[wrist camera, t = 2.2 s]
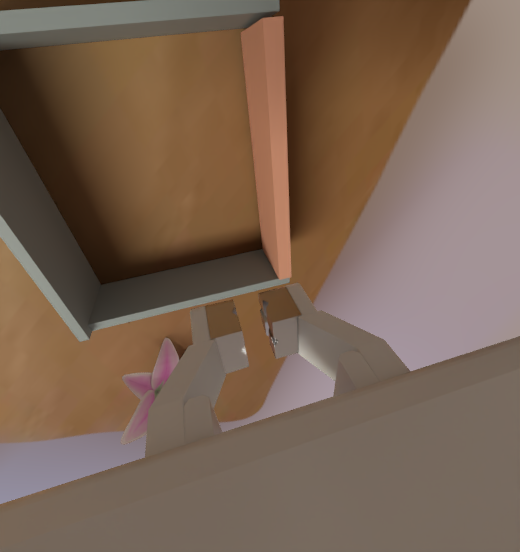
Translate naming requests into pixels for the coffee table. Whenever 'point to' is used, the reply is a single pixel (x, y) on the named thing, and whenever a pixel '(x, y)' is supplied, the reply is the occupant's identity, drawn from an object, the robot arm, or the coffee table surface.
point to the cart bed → (45, 215)
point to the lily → (148, 390)
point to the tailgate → (269, 135)
